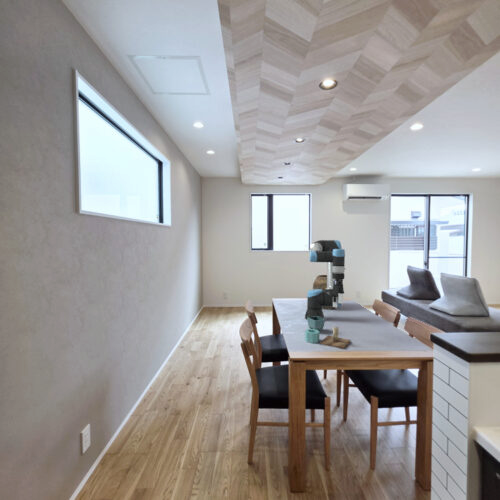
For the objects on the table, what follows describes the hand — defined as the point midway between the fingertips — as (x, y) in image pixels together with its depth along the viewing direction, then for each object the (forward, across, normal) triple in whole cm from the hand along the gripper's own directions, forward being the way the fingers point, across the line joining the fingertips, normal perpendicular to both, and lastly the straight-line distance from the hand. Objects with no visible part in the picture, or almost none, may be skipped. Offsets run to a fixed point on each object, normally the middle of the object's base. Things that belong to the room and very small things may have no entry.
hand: (337, 305), depth 176 cm
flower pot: (+20, +2, +15) cm, 26 cm away
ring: (+20, -17, +11) cm, 29 cm away
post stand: (+20, -13, -2) cm, 24 cm away
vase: (+20, +72, +28) cm, 79 cm away
